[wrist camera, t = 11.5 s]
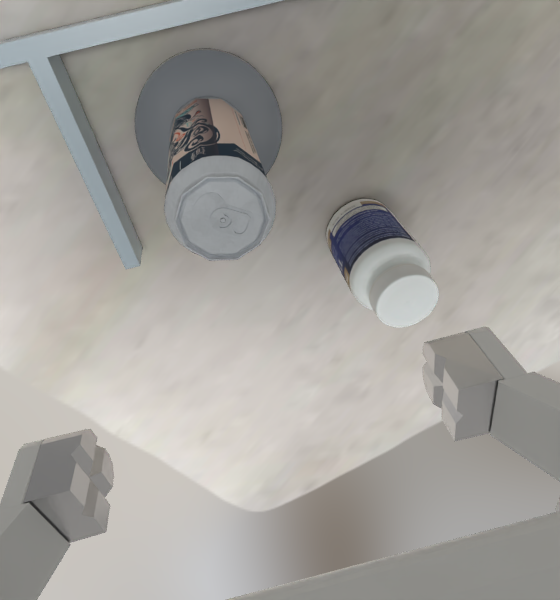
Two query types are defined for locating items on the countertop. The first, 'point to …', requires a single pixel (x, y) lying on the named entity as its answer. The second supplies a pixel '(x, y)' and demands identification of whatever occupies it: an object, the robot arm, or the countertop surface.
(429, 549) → the robot arm
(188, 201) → the beer can
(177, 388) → the countertop surface
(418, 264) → the pill bottle
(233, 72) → the coaster
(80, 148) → the divider wall
